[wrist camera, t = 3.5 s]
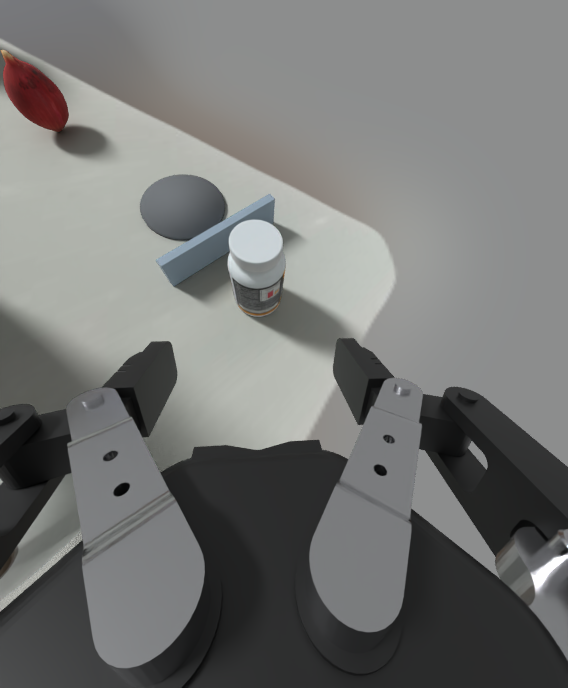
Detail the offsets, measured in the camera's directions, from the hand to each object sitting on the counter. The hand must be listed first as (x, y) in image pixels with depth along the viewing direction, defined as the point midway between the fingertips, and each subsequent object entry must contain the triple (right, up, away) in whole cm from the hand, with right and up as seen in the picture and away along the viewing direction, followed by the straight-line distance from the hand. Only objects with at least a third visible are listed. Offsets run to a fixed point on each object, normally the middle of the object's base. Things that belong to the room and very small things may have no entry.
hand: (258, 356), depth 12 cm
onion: (-32, +32, +24) cm, 51 cm away
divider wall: (-7, +13, +20) cm, 24 cm away
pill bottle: (-2, +6, +18) cm, 19 cm away
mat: (-13, +19, +21) cm, 31 cm away
